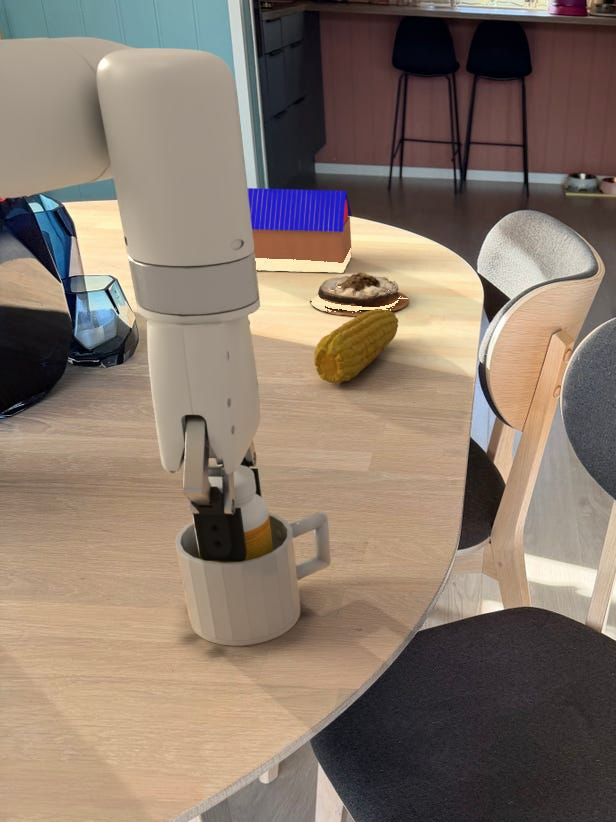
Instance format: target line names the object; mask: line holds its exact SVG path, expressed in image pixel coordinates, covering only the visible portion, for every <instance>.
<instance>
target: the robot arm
mask: <svg viewBox="0 0 616 822" xmlns="http://www.w3.org/2000/svg"><path fill="white" fill-rule="evenodd" d="M245 160H246V159H245V153H244V141H243V134H242V124H241V115H240V107H239V98H238V91H237V84H236V80H235V76H234V74H233V72H232V69H231V67H230V66H229V64H228V63H227V62H226V61H225V60H224V59H223V58H221V57H220V55H219V56H218V55H217V54H214V53H212V52H209V51H204V50H199V49H190V48H189V49H188V48H172V47H171V48H169V47H145V48H141V47H139V48H137V47H133V46H129V45H126V44H124V43H120V42H116V41H113V40H109V39H105V38H98V37H89V36H68V37H67V36H65V37H52V38H49V37H28V38H27V37H26V38H7V39H0V199H16V198H21V197H22V198H23V197H28V196H33V195H37V194H41V193H45V192H50V191H51V192H52V191H54V190H60V189H64V188H69V187H74V186H79V185H86V184H90V183H91V184H92V183H96V182H100V181H101V182H103V181H106V180H107V181H108V180H111V179H113V184H114V190H115V195H116V200H117V205H118V212H119V216H120V222H121V228H122V232H123V238H124V243H125V250H126V254H127V258H128V265H129V270H130V275H131V280H132V286H133V293H134V297H135V302H136V308H137V312H138V314H139V315H140V316H141V317H143V318H145V319H147V321H146V341H147V342H146V344H147V345H146V346H147V360H148V374H149V383H150V391H151V398H152V407H153V413H154V414H153V415H154V421H155V429H156V435H157V443H158V449H159V456H160V462H161V466H162V468H163V469H164V471H165V472H167V473H168V474H175V473H176V472H179V471H180V469H181V468H182V466H183V481H182V491H183V494H184V496H185V497H186V498H187V499H188V501H189V505H190V506H189V507H190V512H191V514H192V519H193V518H194V524H195V529H196V535H197V541H198V547H199V553H200V557H201V558H202V559H203V560H205V561H244V560H245V558H246V556H247V550H246V542H245V535H244V528H243V521H242V514H241V508H235V490H234V471H235V470H236V469H237V468H238V467H239V466H240V465H243V466H246V467H248V468H250V469H251V470H252V471H253V473H254V478H255V484H256V494H257V495H259V496H260V497H262V491H261V490H262V489H261V482H260V481H261V480H260V473H259V468H257V467H256V466H257V460H258V459H257V452H256V447H255V442H254V438H255V436H256V434H257V430H258V429H259V425H260V422H261V421H260V419H261V402H260V401H261V400H260V388H259V380H258V372H257V365H256V363H257V362H256V358H255V350H254V343H253V337H252V331H251V321H250V319H249V315H251V314H254V313H256V312H257V311H258V310H259V309H260V307H261V300H260V299H261V298H260V290H259V280H258V271H257V270H256V261H255V251H254V243H253V233H252V224H251V215H250V206H249V197H248V188H249V187H248V178H247V170H246V161H245ZM210 459H215V462H216V465H221V464H223V465H222V466H215V465H209V464H210V461H209V460H210ZM255 467H256V468H255ZM208 477H222V489H223V493H222V492H221V491H220V490H219V488H218V487H213V486H211V483H210V482H209V478H208Z"/></svg>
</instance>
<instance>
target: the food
mask: <svg viewBox="0 0 616 822" xmlns="http://www.w3.org/2000/svg"><path fill="white" fill-rule="evenodd" d="M398 323H399V318H398V317H397V316H396V314H395V312H394V311H389V310H382V309H375V310H371V311H367V312H365V313H362V314H361V315H360V316H355V317H354V318H352V319H351V320H348V321H346V322H344V323H343V324H342V325H340V326H338V328H335V329H334V330H333V331H331V332H330V333H329V334H326V335H325V336H323V337H322V338H321V339H320V340H319V342H318V343H317V344H316V346H315V350H314V356H313V358H314V359H313V363H314V366H315V370H316V372H317V376H319V379H321V380H323V381H326V382H328V383H331V384H341V383H342V382H345V381H346V382H348V381H350V380H351V379H352V378H355V377H357V376H358V375H359V373H360V372H362V371H363V370H364V369H365V368H366V367H367V366H369V365H370V364H371V363H372V362H374V361H375V360H376V358H377V357H378V356H379V355H380V354H381V353H382V352H383V351H385V348H386V347H388V345H390V344H391V342H392V341H393V340H394V339H395V337H396V334H397V332H398V328H399V324H398Z"/></svg>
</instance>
